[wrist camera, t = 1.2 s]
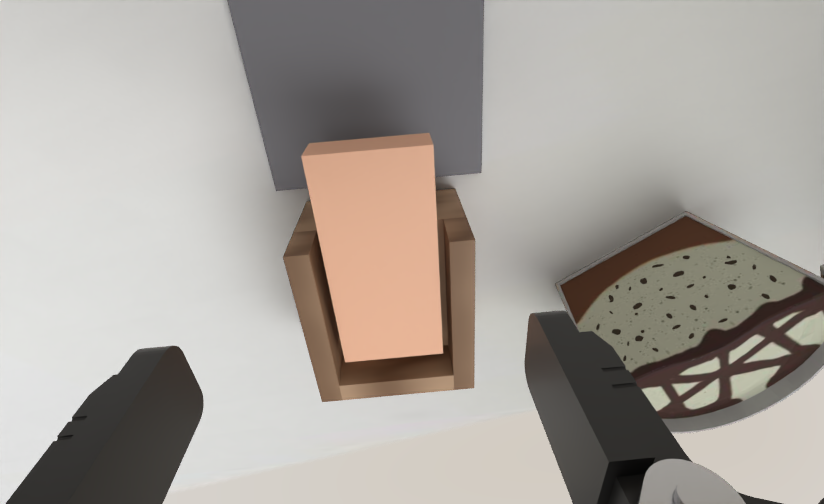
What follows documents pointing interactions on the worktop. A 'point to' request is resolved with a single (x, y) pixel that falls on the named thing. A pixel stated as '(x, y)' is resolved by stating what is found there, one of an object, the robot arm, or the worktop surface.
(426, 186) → the cover plate
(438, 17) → the charcoal mat
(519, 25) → the worktop surface
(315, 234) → the walnut box
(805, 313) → the food container
